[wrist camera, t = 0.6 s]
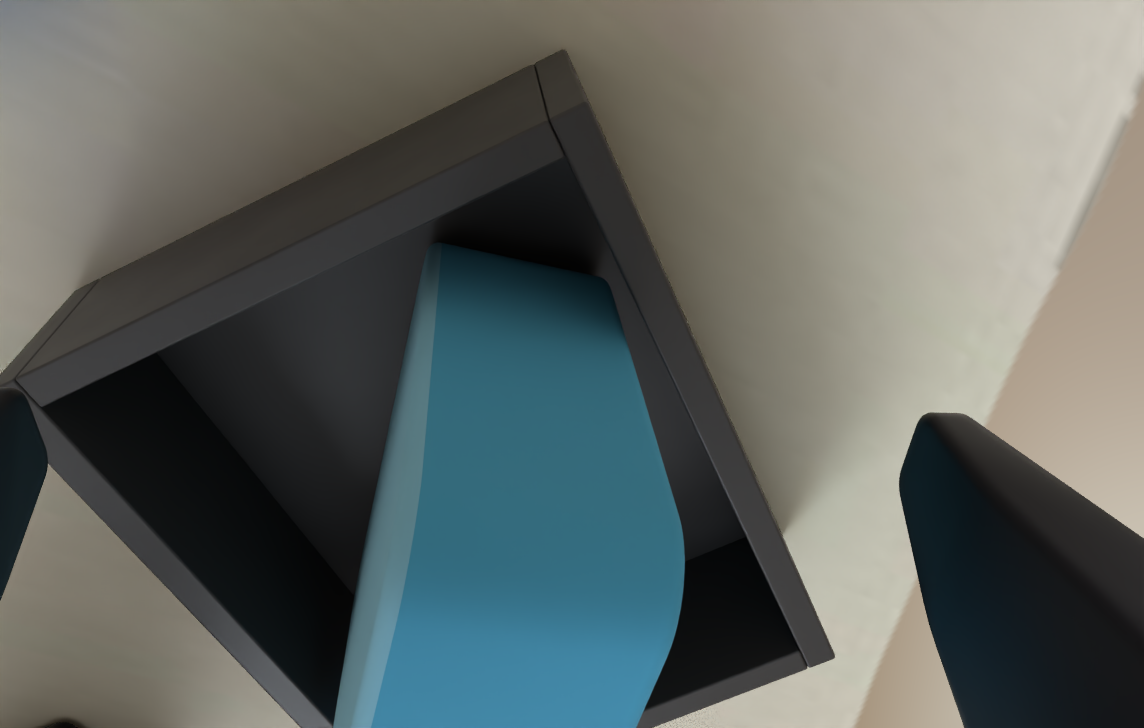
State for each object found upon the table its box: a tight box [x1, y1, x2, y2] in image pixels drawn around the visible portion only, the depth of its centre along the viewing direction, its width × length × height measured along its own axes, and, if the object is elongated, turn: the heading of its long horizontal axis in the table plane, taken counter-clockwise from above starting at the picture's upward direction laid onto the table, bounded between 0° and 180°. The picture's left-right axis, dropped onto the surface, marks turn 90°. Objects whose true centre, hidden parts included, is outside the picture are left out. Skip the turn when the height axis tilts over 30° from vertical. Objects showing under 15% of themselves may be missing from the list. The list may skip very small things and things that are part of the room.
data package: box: [333, 243, 685, 728], centre depth 21 cm, size 12×4×12 cm, turn 165°
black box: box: [0, 50, 835, 728], centre depth 24 cm, size 14×17×5 cm
